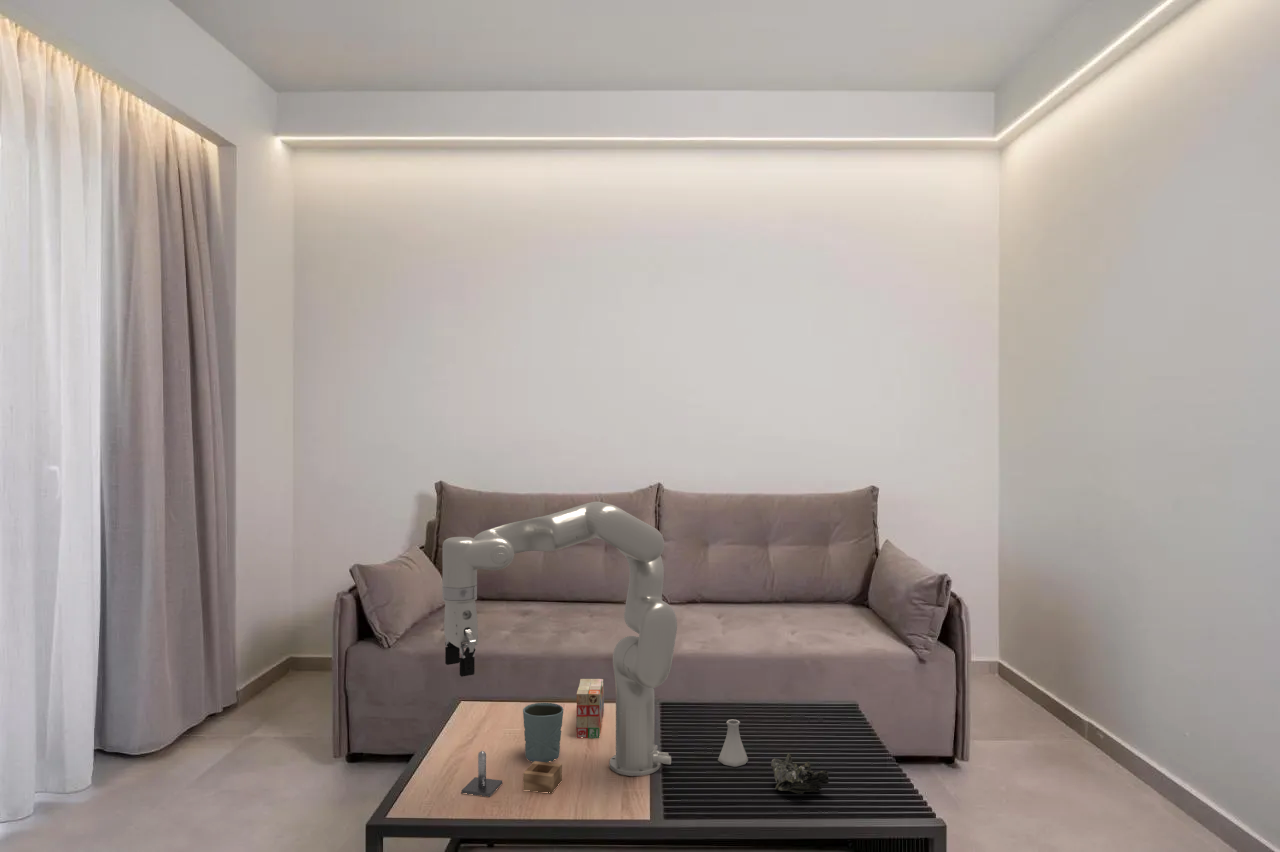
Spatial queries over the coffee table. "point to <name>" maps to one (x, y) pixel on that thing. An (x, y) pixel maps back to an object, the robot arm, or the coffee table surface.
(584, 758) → the coffee table surface
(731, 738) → the flask
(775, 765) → the mineral specimen
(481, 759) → the peg stand
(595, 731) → the stack of blocks
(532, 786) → the square wooden ring
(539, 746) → the teal cup
